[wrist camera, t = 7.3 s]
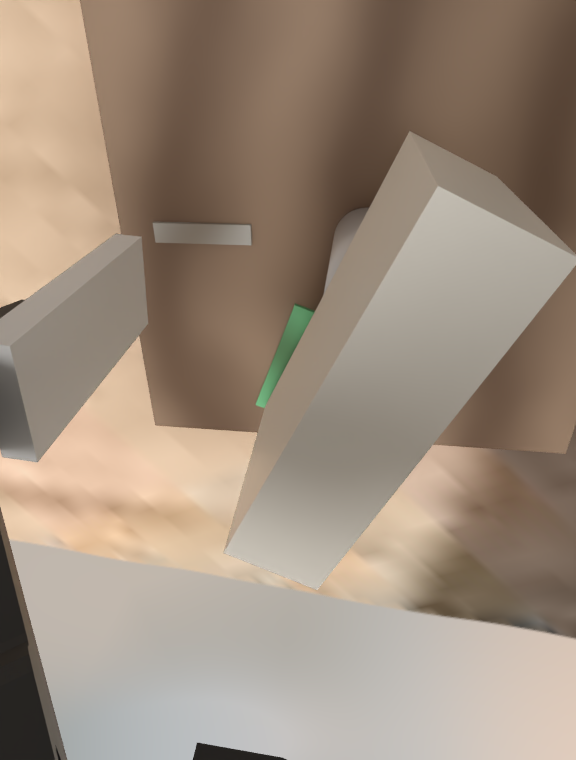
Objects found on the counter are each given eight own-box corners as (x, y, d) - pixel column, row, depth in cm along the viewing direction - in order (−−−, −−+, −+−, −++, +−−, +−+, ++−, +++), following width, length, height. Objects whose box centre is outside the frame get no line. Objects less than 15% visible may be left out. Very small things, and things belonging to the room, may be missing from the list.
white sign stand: (396, 106, 18) (438, 185, 8) (458, 138, 18) (580, 258, 8) (251, 397, 25) (168, 647, 15) (297, 417, 25) (247, 676, 15)
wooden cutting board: (719, -101, 16) (764, -121, 14) (553, 428, 27) (566, 456, 25) (92, -75, 18) (61, -89, 17) (167, 403, 29) (154, 427, 27)
